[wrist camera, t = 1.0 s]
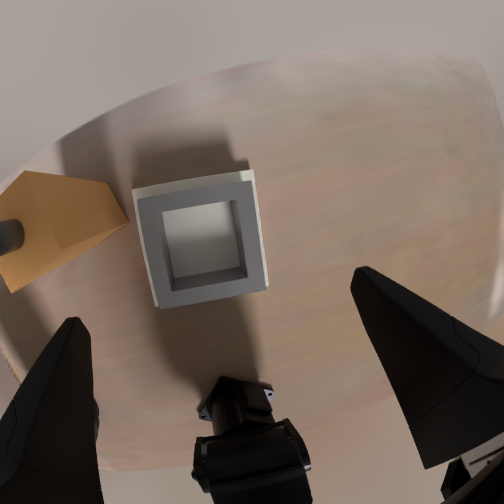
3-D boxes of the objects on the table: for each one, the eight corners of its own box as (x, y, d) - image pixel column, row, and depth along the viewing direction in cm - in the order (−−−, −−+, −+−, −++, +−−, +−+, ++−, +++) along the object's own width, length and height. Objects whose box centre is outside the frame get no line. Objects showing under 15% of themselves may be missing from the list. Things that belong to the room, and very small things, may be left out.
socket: (265, 282, 25) (280, 299, 21) (156, 302, 24) (150, 323, 19) (250, 170, 23) (263, 164, 19) (134, 189, 21) (120, 187, 17)
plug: (129, 222, 22) (39, 259, 7) (94, 246, 22) (-11, 308, 7) (107, 183, 21) (-2, 167, 6) (72, 208, 21) (-47, 227, 6)
